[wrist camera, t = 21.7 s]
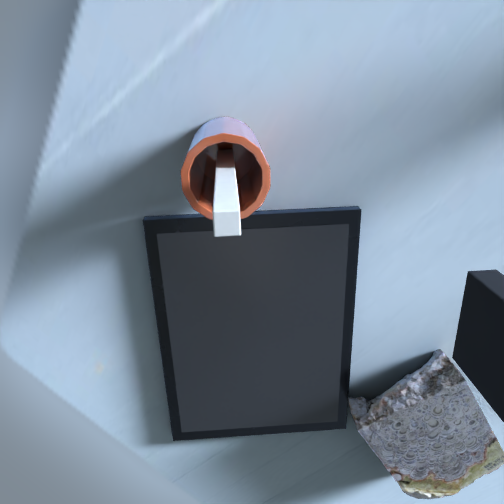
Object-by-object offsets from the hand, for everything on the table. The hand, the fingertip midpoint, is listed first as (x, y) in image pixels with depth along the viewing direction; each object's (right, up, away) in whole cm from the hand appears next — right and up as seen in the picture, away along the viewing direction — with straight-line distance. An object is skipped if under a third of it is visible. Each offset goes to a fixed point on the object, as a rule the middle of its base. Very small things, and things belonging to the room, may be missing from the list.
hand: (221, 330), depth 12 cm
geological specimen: (+19, -15, +35) cm, 43 cm away
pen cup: (-1, +10, +23) cm, 25 cm away
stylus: (-1, +10, +22) cm, 24 cm away
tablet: (+1, -5, +30) cm, 31 cm away
